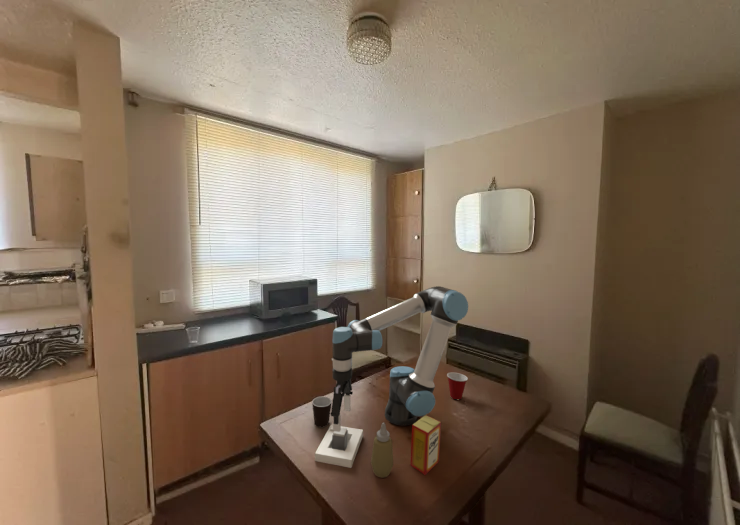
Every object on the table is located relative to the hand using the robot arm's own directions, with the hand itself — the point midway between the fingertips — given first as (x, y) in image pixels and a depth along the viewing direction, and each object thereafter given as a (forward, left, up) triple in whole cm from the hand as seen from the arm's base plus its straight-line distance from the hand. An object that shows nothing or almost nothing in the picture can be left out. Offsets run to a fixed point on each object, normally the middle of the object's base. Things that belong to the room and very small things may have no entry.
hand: (342, 420), depth 119 cm
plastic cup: (-48, -53, -12) cm, 72 cm away
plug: (+1, 0, -11) cm, 11 cm away
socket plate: (0, 0, -12) cm, 12 cm away
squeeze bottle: (-18, +8, -12) cm, 23 cm away
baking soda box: (-33, 0, -12) cm, 35 cm away
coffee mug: (+13, -15, -12) cm, 23 cm away
